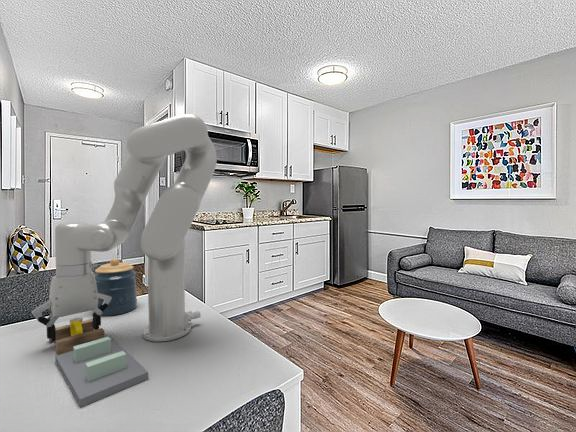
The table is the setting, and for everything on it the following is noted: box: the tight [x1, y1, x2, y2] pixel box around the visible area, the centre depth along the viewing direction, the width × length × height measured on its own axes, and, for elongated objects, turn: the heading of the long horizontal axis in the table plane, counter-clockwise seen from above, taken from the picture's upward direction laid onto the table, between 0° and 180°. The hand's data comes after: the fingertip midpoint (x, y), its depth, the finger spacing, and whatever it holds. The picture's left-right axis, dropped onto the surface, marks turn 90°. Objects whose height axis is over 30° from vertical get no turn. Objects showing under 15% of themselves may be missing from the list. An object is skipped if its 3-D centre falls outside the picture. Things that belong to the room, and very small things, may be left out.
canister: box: [94, 257, 138, 317], centre depth 103 cm, size 13×13×18 cm
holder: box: [48, 318, 105, 356], centre depth 80 cm, size 10×11×3 cm
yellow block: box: [69, 317, 83, 336], centre depth 80 cm, size 6×3×6 cm, turn 48°
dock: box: [54, 336, 149, 408], centre depth 66 cm, size 12×22×4 cm, turn 47°
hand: (75, 334), depth 80 cm, fingers open, 9 cm apart
